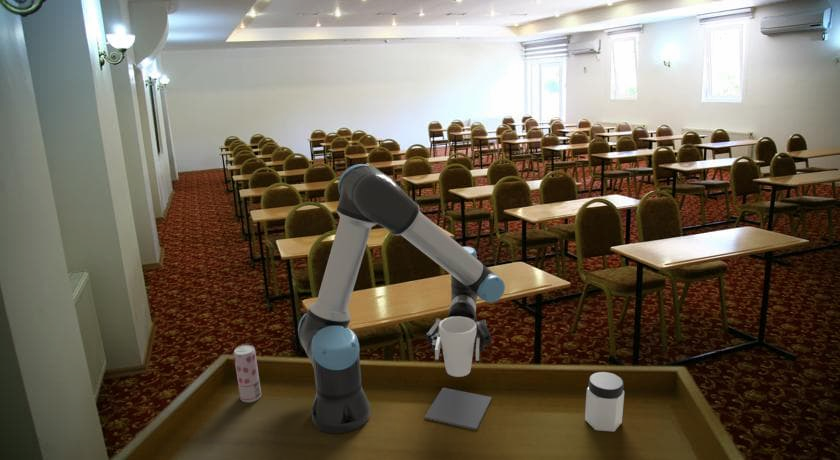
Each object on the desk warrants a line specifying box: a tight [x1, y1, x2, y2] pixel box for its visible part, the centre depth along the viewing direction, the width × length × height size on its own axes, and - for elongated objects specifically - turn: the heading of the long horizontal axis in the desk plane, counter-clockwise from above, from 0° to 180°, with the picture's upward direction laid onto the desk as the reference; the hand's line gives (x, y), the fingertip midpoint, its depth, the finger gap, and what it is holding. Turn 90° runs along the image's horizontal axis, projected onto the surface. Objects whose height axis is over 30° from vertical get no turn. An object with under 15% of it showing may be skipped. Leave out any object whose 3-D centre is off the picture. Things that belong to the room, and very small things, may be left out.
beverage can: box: [233, 344, 262, 403], centre depth 167 cm, size 6×6×15 cm
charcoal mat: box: [423, 387, 493, 431], centre depth 161 cm, size 14×14×1 cm
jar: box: [584, 371, 625, 432], centre depth 152 cm, size 9×8×12 cm
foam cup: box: [439, 316, 478, 378], centre depth 155 cm, size 10×9×13 cm
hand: (456, 355), depth 151 cm, fingers closed on foam cup, 9 cm apart
